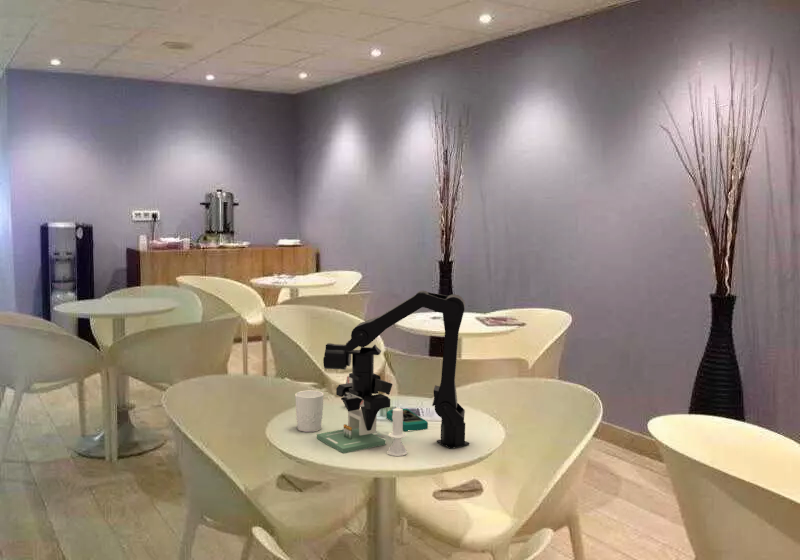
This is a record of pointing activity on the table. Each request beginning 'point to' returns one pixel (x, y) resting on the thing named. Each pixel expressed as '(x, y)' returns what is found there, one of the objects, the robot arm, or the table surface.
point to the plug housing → (360, 422)
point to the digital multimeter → (410, 420)
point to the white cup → (309, 410)
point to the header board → (346, 445)
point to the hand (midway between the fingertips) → (362, 427)
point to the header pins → (347, 432)
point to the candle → (397, 434)
